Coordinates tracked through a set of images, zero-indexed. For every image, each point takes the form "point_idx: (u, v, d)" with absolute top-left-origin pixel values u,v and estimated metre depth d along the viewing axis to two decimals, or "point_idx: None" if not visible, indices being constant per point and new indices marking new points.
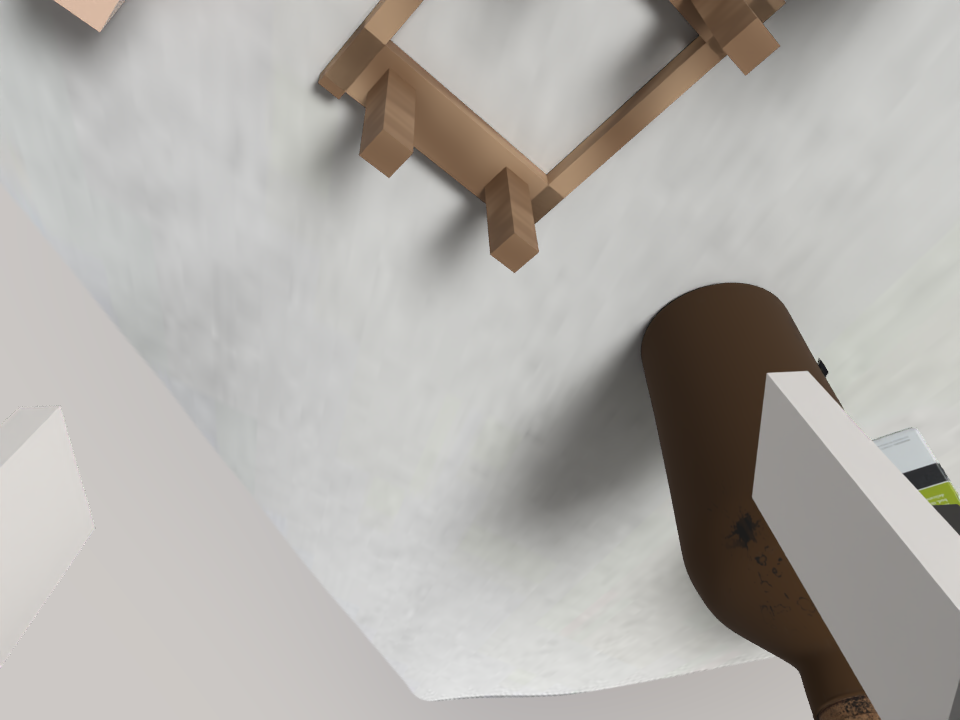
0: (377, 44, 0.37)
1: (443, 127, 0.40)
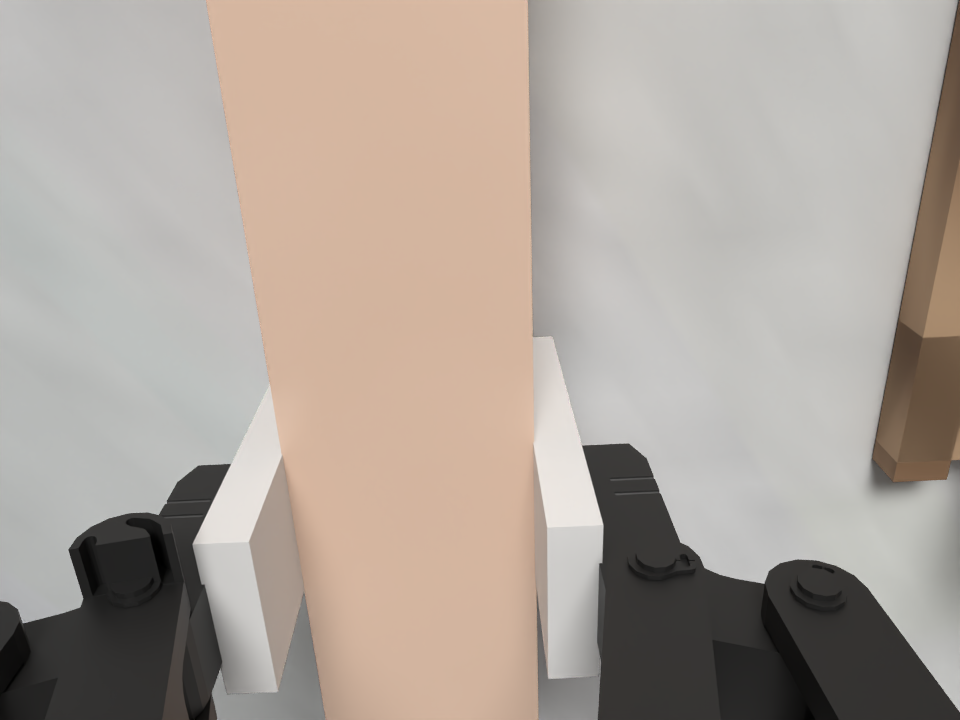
0: None
1: None
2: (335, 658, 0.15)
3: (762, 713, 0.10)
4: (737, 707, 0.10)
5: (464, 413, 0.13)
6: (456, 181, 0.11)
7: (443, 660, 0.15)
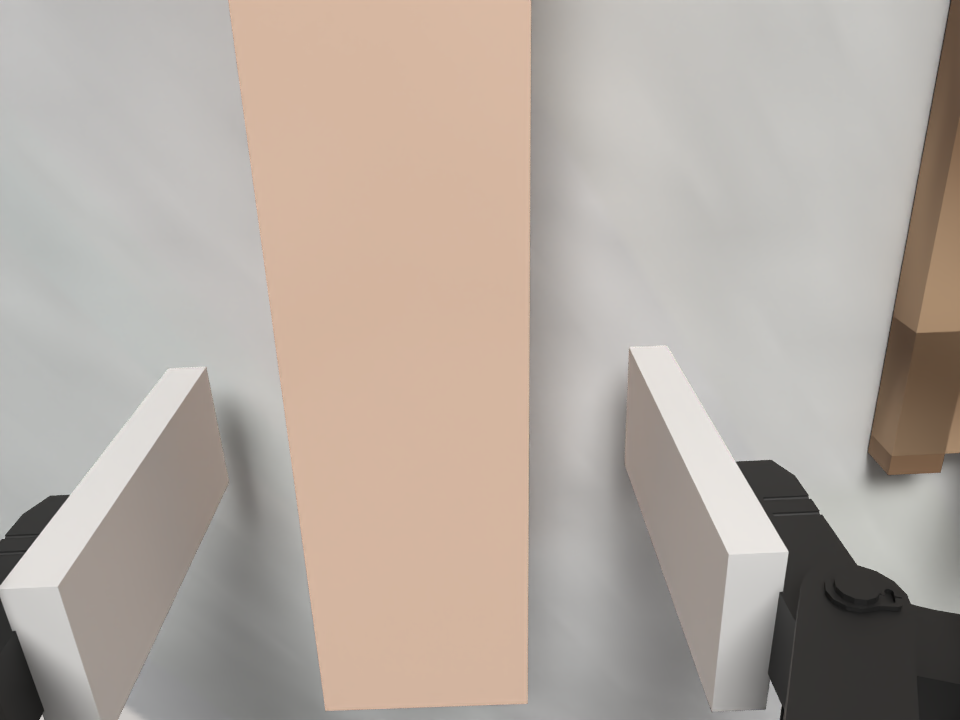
0: (958, 340, 0.17)
1: None
2: (333, 631, 0.15)
3: None
4: None
5: (463, 395, 0.13)
6: (459, 173, 0.12)
7: (437, 634, 0.15)
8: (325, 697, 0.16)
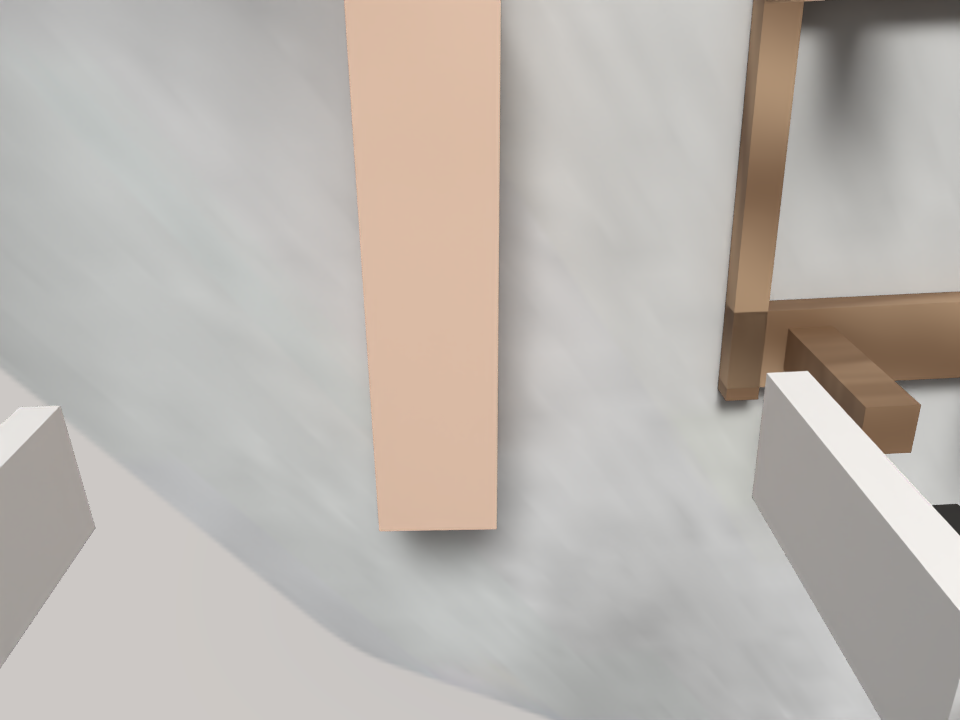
0: (759, 317, 0.29)
1: (893, 338, 0.29)
2: (386, 480, 0.27)
3: None
4: None
5: (463, 344, 0.25)
6: (463, 229, 0.23)
7: (445, 484, 0.27)
8: (379, 522, 0.27)
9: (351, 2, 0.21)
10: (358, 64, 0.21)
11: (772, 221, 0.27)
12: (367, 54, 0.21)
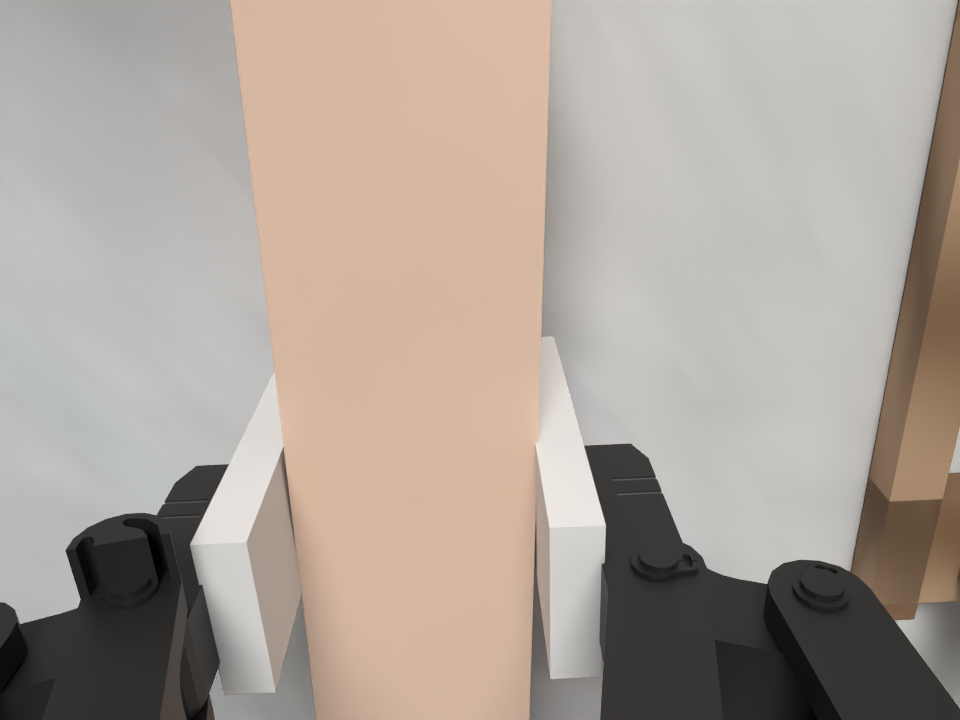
0: (928, 507, 0.18)
1: None
2: None
3: (766, 712, 0.10)
4: (740, 709, 0.10)
5: (472, 615, 0.14)
6: (474, 436, 0.13)
7: None
8: None
9: (247, 25, 0.10)
10: (267, 146, 0.11)
11: None
12: (283, 126, 0.11)
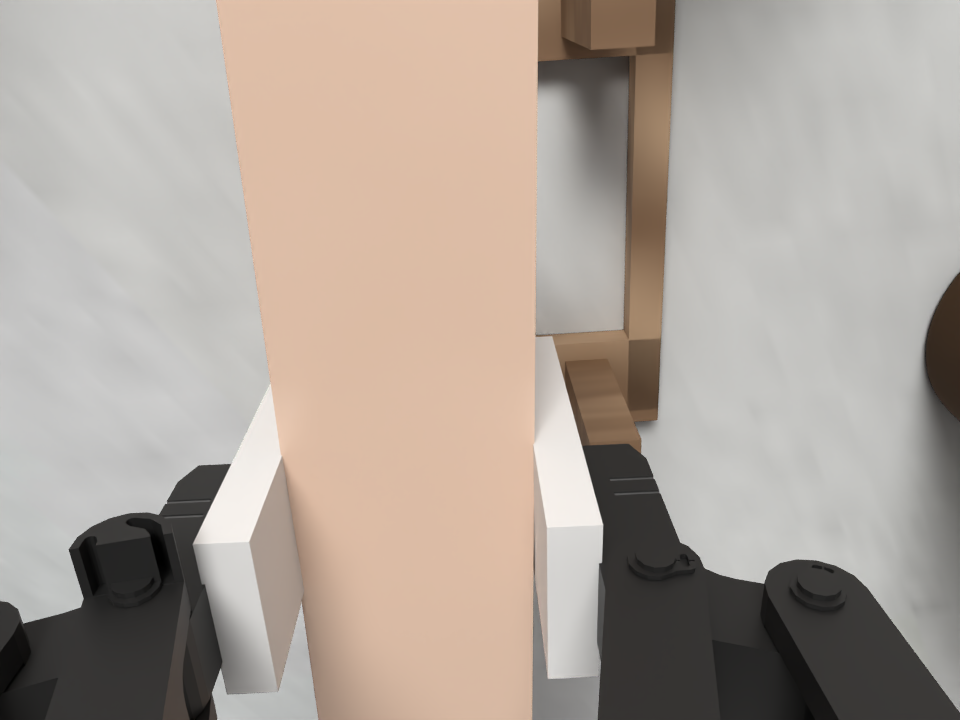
0: None
1: None
2: None
3: (762, 712, 0.10)
4: (737, 707, 0.10)
5: (472, 618, 0.14)
6: (469, 440, 0.13)
7: None
8: None
9: (235, 36, 0.10)
10: (258, 156, 0.11)
11: None
12: (274, 135, 0.11)
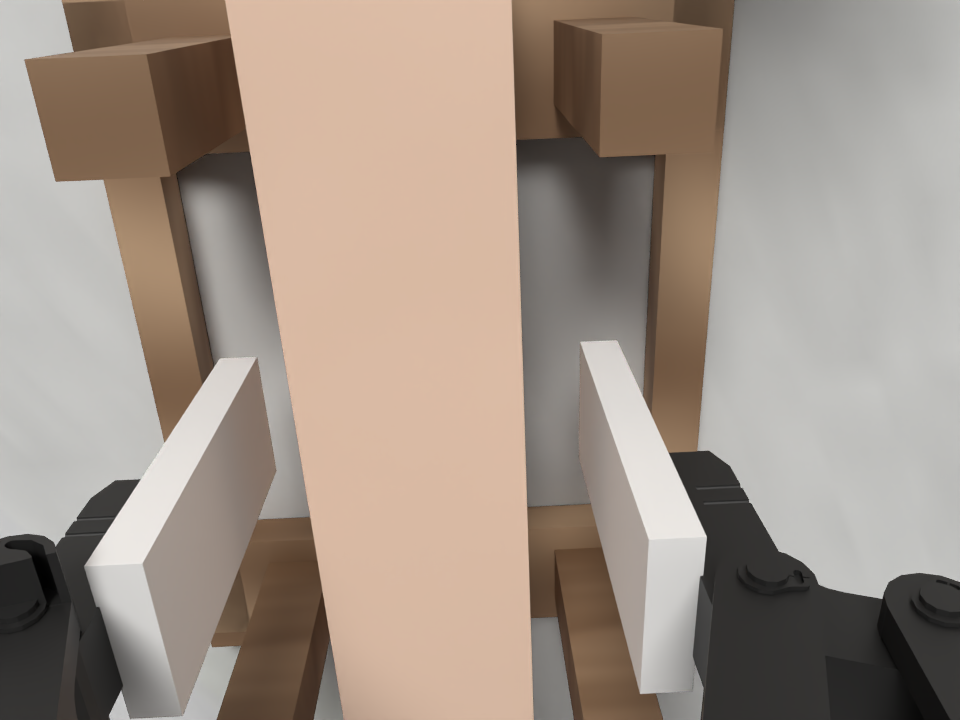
0: None
1: None
2: None
3: None
4: None
5: (472, 566, 0.15)
6: (464, 398, 0.14)
7: None
8: None
9: (243, 35, 0.11)
10: (266, 142, 0.12)
11: None
12: (280, 124, 0.12)
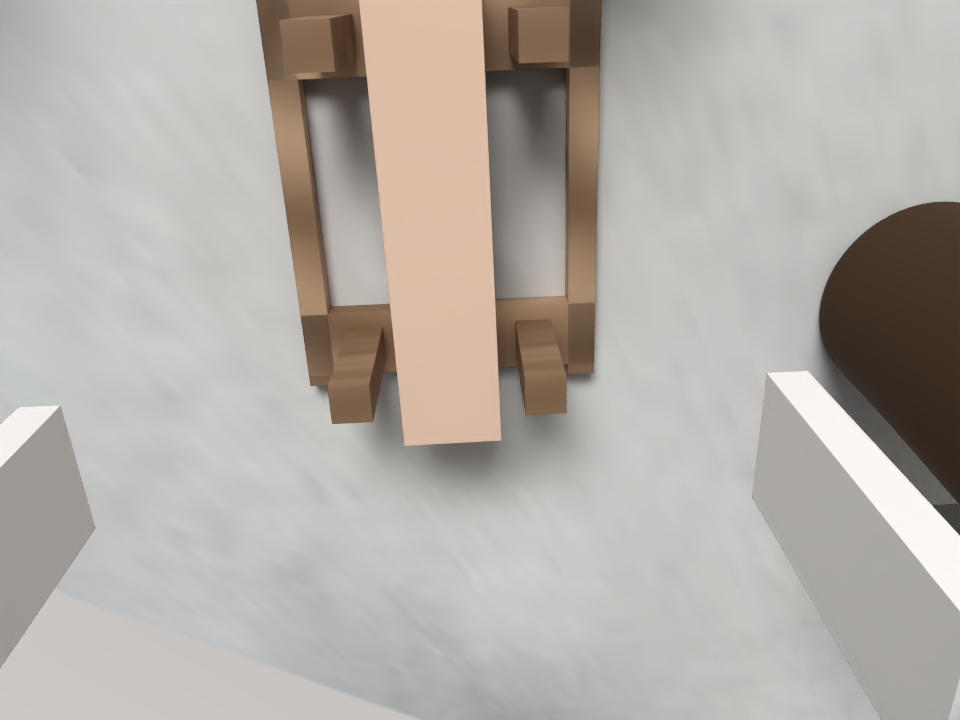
0: (321, 319, 0.36)
1: None
2: (408, 401, 0.32)
3: None
4: None
5: (465, 283, 0.30)
6: (461, 188, 0.29)
7: (457, 402, 0.33)
8: (404, 438, 0.33)
9: (365, 11, 0.26)
10: (373, 59, 0.27)
11: (313, 244, 0.35)
12: (379, 51, 0.27)
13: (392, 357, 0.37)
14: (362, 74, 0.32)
